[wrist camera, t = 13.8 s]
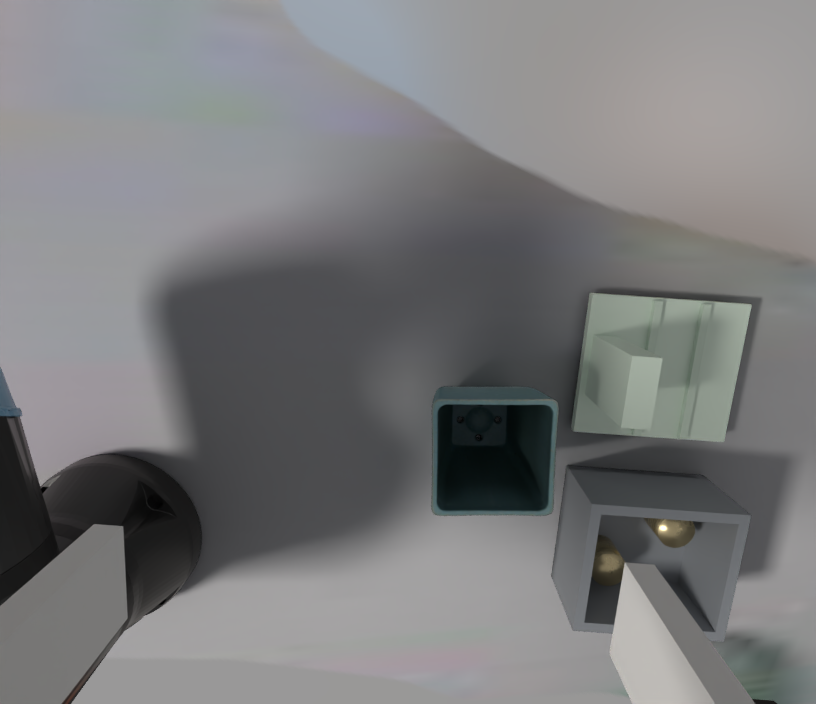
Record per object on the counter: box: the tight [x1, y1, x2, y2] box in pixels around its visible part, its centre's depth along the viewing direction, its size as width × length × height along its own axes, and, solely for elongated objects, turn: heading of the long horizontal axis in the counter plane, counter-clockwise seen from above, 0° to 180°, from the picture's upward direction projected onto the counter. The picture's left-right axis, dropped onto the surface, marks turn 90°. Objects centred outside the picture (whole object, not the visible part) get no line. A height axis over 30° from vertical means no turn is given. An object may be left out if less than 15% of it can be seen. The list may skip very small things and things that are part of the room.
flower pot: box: [431, 387, 559, 516], centre depth 42 cm, size 9×9×9 cm
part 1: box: [592, 535, 625, 586], centre depth 46 cm, size 3×3×3 cm
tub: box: [551, 466, 752, 642], centre depth 44 cm, size 12×11×7 cm
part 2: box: [644, 518, 695, 548], centre depth 45 cm, size 3×3×3 cm
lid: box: [571, 293, 752, 442], centre depth 40 cm, size 13×12×10 cm
